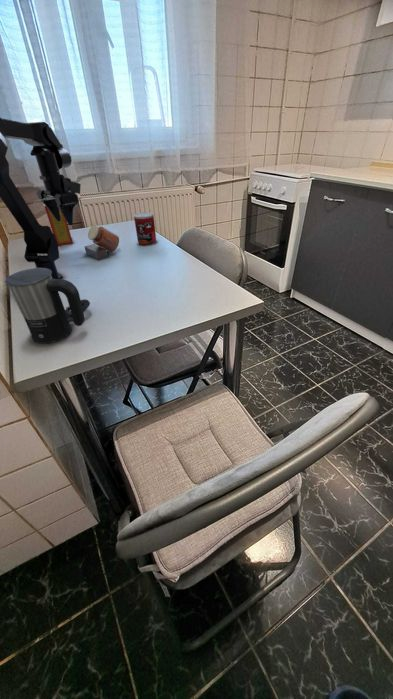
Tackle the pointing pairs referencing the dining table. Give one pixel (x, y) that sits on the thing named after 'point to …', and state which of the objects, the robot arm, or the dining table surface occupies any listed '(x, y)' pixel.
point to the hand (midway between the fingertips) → (64, 223)
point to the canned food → (145, 228)
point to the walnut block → (96, 251)
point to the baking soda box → (59, 228)
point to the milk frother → (46, 303)
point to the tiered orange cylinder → (103, 238)
